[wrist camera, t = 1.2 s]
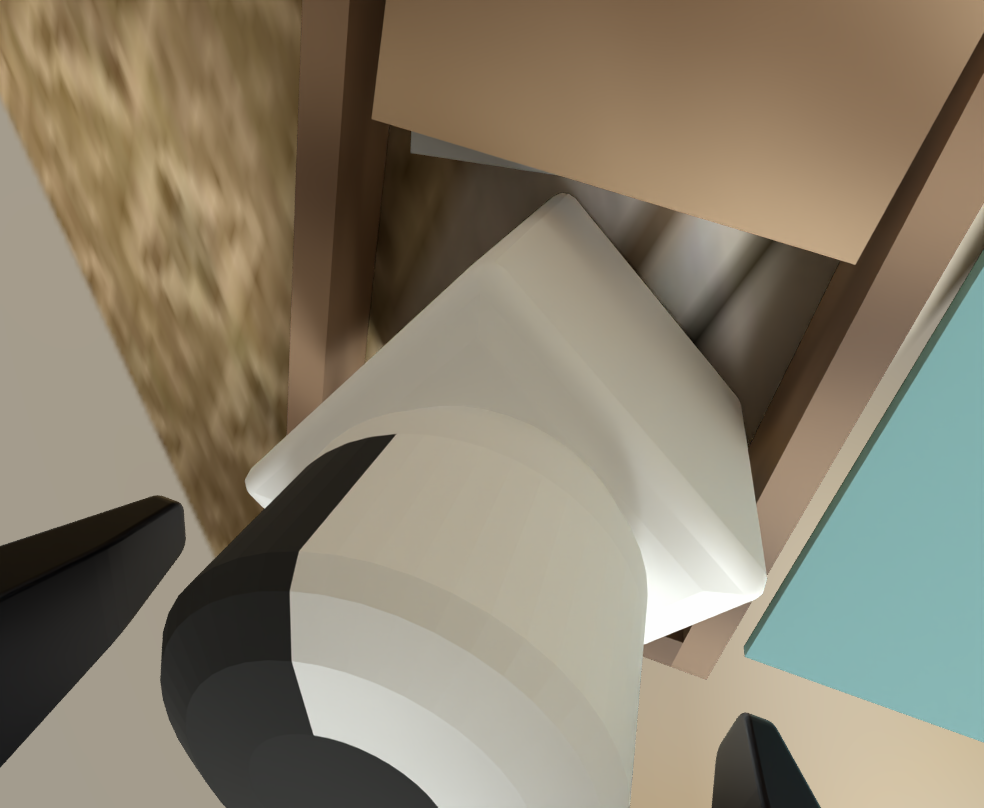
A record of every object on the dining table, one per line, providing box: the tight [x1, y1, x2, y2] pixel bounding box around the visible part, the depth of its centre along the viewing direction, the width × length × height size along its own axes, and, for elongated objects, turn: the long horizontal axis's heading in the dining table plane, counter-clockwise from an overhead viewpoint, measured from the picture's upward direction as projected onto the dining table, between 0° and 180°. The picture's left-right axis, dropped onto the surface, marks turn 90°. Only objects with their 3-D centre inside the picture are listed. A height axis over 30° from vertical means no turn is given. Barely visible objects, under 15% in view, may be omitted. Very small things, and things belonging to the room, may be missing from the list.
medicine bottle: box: [160, 193, 767, 808], centre depth 12 cm, size 7×7×12 cm
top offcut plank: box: [372, 0, 984, 265], centre depth 11 cm, size 5×9×2 cm, turn 76°
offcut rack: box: [287, 0, 984, 679], centre depth 14 cm, size 20×13×2 cm, turn 168°
